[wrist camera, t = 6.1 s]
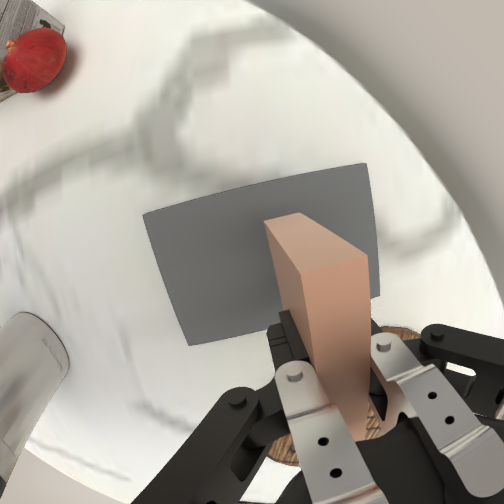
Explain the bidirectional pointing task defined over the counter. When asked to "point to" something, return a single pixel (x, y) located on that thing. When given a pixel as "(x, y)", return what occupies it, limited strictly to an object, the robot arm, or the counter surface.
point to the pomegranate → (34, 59)
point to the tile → (327, 309)
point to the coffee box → (20, 29)
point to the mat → (251, 247)
